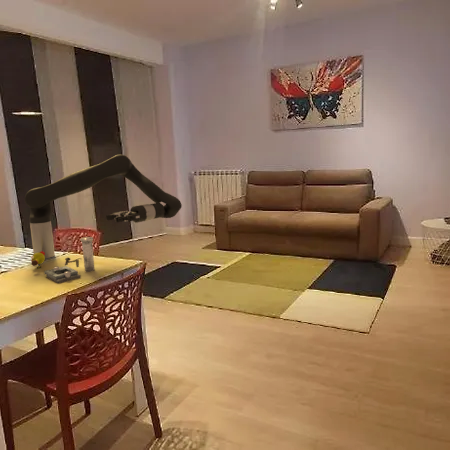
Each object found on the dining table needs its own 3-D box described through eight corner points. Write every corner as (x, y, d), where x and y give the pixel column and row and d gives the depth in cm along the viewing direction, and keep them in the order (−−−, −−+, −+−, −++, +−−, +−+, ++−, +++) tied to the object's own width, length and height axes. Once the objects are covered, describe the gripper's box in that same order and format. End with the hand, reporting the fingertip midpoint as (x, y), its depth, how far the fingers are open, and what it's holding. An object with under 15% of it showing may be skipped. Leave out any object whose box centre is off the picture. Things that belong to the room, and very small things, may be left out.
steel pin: (81, 270, 173) (78, 238, 170) (92, 267, 176) (89, 236, 173) (86, 273, 169) (83, 240, 166) (98, 270, 173) (95, 238, 170)
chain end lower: (46, 277, 165) (45, 270, 164) (68, 272, 171) (67, 265, 170) (58, 283, 157) (57, 275, 156) (80, 277, 163) (79, 270, 162)
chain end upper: (44, 276, 166) (43, 269, 165) (66, 271, 172) (65, 264, 172) (56, 282, 158) (55, 274, 158) (78, 276, 164) (77, 269, 164)
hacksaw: (65, 260, 192) (65, 257, 191) (88, 258, 195) (88, 255, 195) (63, 275, 169) (62, 271, 169) (89, 272, 172) (88, 268, 172)
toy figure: (36, 262, 187) (34, 248, 186) (49, 261, 188) (47, 247, 187) (27, 274, 170) (25, 258, 169) (41, 272, 171) (39, 257, 170)
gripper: (134, 203, 191) (102, 209, 181) (150, 206, 181) (118, 211, 170) (135, 219, 193) (104, 225, 182) (152, 222, 183) (119, 229, 172)
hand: (110, 219), depth 176 cm, fingers open, 8 cm apart
